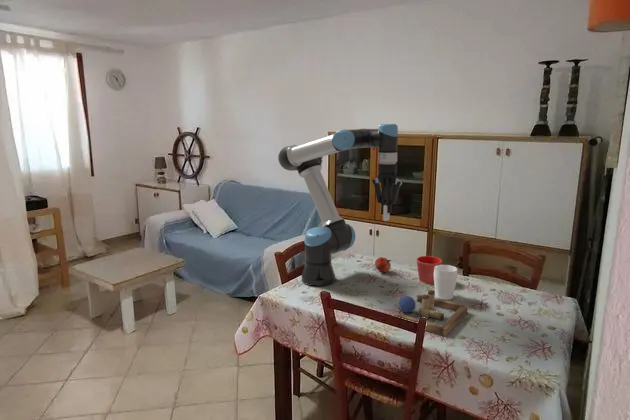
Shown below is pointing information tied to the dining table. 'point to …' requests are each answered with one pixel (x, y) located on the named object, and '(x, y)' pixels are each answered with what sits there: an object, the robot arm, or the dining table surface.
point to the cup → (445, 281)
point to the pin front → (433, 314)
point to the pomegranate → (382, 264)
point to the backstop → (449, 324)
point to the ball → (407, 304)
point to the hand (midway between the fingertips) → (386, 220)
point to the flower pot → (427, 268)
